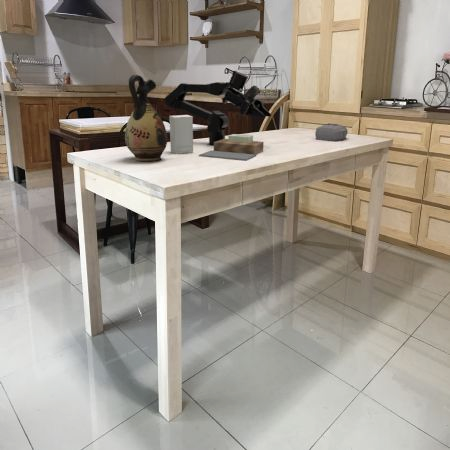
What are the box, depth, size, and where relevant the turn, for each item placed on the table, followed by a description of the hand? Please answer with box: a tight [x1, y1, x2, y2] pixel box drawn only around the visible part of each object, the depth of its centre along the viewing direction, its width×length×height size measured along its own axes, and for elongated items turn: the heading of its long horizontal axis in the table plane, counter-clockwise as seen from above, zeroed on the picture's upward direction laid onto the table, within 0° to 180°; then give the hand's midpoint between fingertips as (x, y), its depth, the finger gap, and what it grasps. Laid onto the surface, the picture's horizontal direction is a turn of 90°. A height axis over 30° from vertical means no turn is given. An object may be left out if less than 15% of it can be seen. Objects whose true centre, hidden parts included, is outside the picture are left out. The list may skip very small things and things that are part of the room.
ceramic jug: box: [124, 74, 168, 162], centre depth 152 cm, size 17×15×30 cm
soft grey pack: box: [314, 122, 348, 142], centre depth 224 cm, size 15×8×20 cm
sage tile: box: [227, 133, 254, 143], centre depth 180 cm, size 9×6×2 cm, turn 68°
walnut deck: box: [213, 138, 264, 156], centre depth 179 cm, size 18×12×4 cm, turn 68°
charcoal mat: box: [198, 150, 257, 162], centre depth 169 cm, size 20×12×1 cm, turn 68°
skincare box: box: [169, 114, 194, 154], centre depth 172 cm, size 8×6×15 cm
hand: (267, 116), depth 183 cm, fingers open, 9 cm apart
